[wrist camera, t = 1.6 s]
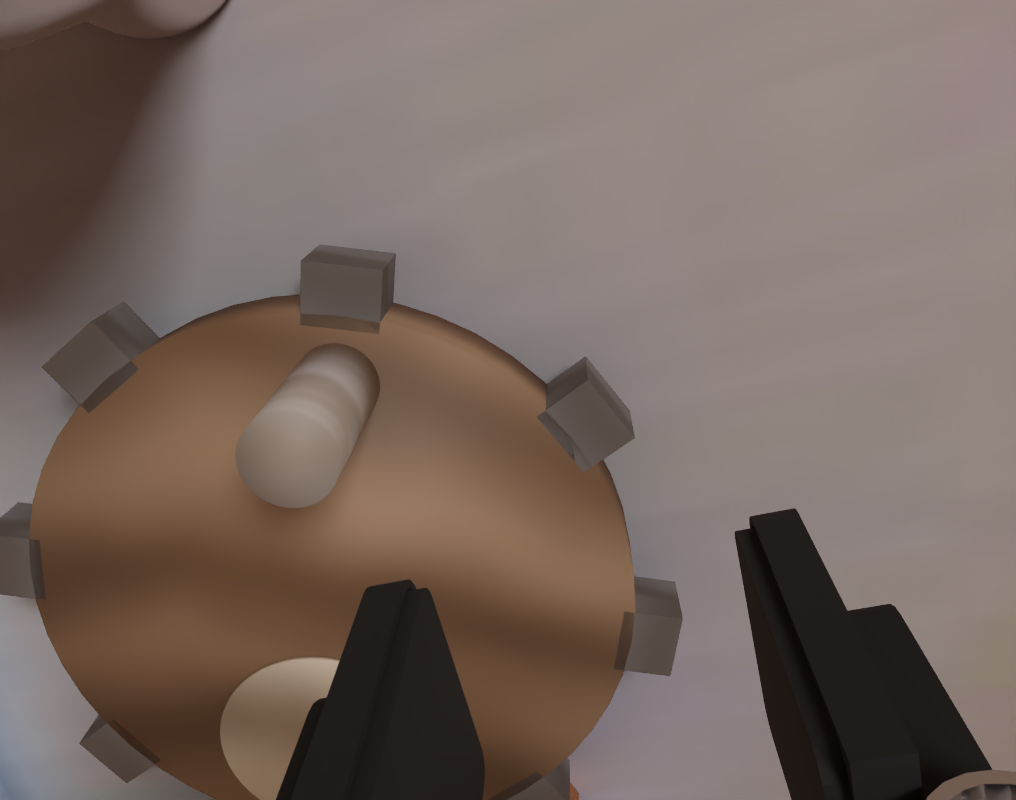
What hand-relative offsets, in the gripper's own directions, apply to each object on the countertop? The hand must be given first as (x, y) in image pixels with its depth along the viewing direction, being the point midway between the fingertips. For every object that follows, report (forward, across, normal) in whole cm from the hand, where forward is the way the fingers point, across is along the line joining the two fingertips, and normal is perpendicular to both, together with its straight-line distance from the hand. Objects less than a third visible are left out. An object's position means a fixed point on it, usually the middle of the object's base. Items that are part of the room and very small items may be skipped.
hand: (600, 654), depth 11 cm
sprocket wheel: (+16, +9, +7) cm, 20 cm away
